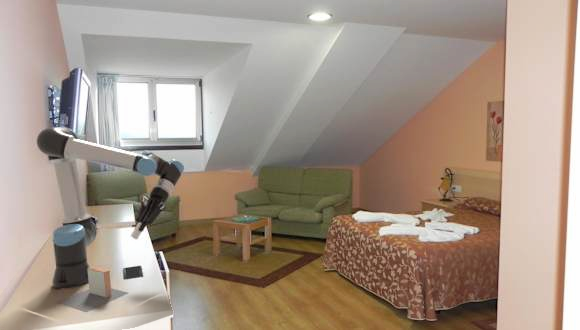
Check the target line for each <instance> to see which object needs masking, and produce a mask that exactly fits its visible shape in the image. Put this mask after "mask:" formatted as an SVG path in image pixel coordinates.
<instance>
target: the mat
mask: <svg viewBox="0 0 580 330" xmlns="http://www.w3.org/2000/svg"><path fill="white" fill-rule="evenodd" d="M128 294H129V292H127V291H123V290H119V289H115V288H112V287H111V296H110V297H107V298H105V297H101V296H98V295H94V294H91V293H90V292H89V288H88V289H85V290H83V291H80V292H78V293H75V294H74V295H71V296H68V297H66V298H63V299H60V300H58V301H56V302H55V303H56V304H59V305H62V306H65V307H69V308H72V309H74V310H78V311H80V312H81V311H82V312H84V313H88V312H90V311H92V310H95V309H98V308H99V307H101V306H103V305H106V304H108V303H110V302H112V301H115V300H117V299H119V298H121V297H124V296H125V295H128Z"/></svg>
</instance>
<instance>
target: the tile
mask: <svg viewBox="0 0 580 330" xmlns="http://www.w3.org/2000/svg"><path fill="white" fill-rule="evenodd" d="M87 270H88V281H89V282H88V289H89V292H90V293H91V294H94V295H98V296H101V297H105V298H107V297H110V296H111V288H112V286H111V284H112V283H111V275H110V274H111V273H110V269H106V268H100V267H97V266H90V267H89V268H87Z"/></svg>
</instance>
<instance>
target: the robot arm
mask: <svg viewBox="0 0 580 330" xmlns="http://www.w3.org/2000/svg"><path fill="white" fill-rule="evenodd" d="M36 145H37V147H38V150H39V151H40V152H42V153H43V154H44V155H46V156H47V158H48V161H49V162H50V163H52V164H53V166H54V171H55V176H56V180H57V185H58V190H59V194H60V199H61V205H62V208H63V213H64V219H63V220H62V221H61V223H62V226H59V227H57V228H55V230H53V234H52V242H53V251H54V259H55V260H54V261H55V269H54V273H53V277H52V282H51V283H52V287H53V288H54V289H56V290H61V289H71V288H76V287H80V286H84V285H86V284H89V281H88V270H87V268H89V267H91V266H90V265H89V262H88V255H87V253H88V252H87V248H88V247H89V246H90V245H92V244H93V243H94V242H95V239H96V237H97V235H98V228H97V226H96V224H95V223H94V222H93V220H92V219H93V218H92V215H91V214H89V213H87V209H86V205H85V200H84V195H83V190H82V185H81V184H82V183H81V180H80V175H79V171H78V164H77V159H78V160H82V161H86V162H90V163H94V164H95V163H96V164H99V165H104V166H108V167H113V168H117V169H121V170H125V171H130V172H134V173H136V174H137V173H138V174H140V175H141V176H146V177H147V176H152V175H154V174H155V175H156V176H158V177H159V178H158V180H157V182H156V183H155V185H154V187H152V190H151V192H149V196H150V197H149V198H148V199H147V200H146V201H141V203H140V208H139V210H138V212H137V215H136V218H135V222H137V223H136V225H135V227H134V230H133V231H132V232H131V235H130V237H131V238H133V239H134V240H139V237H140V235H141V233H142V232H144V230H145V228H146V227H147V226H148V225H151V226H152V224H153V223H154V222H155V220H156V219H157V217H158V216H159V215H160V214H161V213H162V212H163V211H164V210H165V209H166V206H165V205H164V203H166V202H167V200H168V198H169V197H170V195H172V192H173V190H174V188H175V187H176V184H177V183H178V181H179V180H180V179H181V176H182V174H183V172H184V171H185V165H184V164H183V163H182V162H181V161H179V160H176V159H170V161H167V160H165V159H164V158H162V157H160V156H158V155H156V154H155V153H153V152H151V151H148V150H146V149H145V150H143V151H142V153H141V154H139V153H135V152H130V151H126V150H123V149H118V148H114V147H109V146H105V145H101V144H97V143H94V142H89V141H85V140H81V139H79V137H78V134H77V133H76V132H75V131H74V130H73V129H71V128H69V127H65V126H57V127H47V128H45V129H43V130H41V131H40V132H39V133H38V134H37V137H36Z"/></svg>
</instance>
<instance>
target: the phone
mask: <svg viewBox="0 0 580 330" xmlns="http://www.w3.org/2000/svg"><path fill="white" fill-rule="evenodd" d="M122 274H123V280H131V279H136V278H144V272H143V268H142V265H135V266H130V267H129V266H127V267H124V268H122Z"/></svg>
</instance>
